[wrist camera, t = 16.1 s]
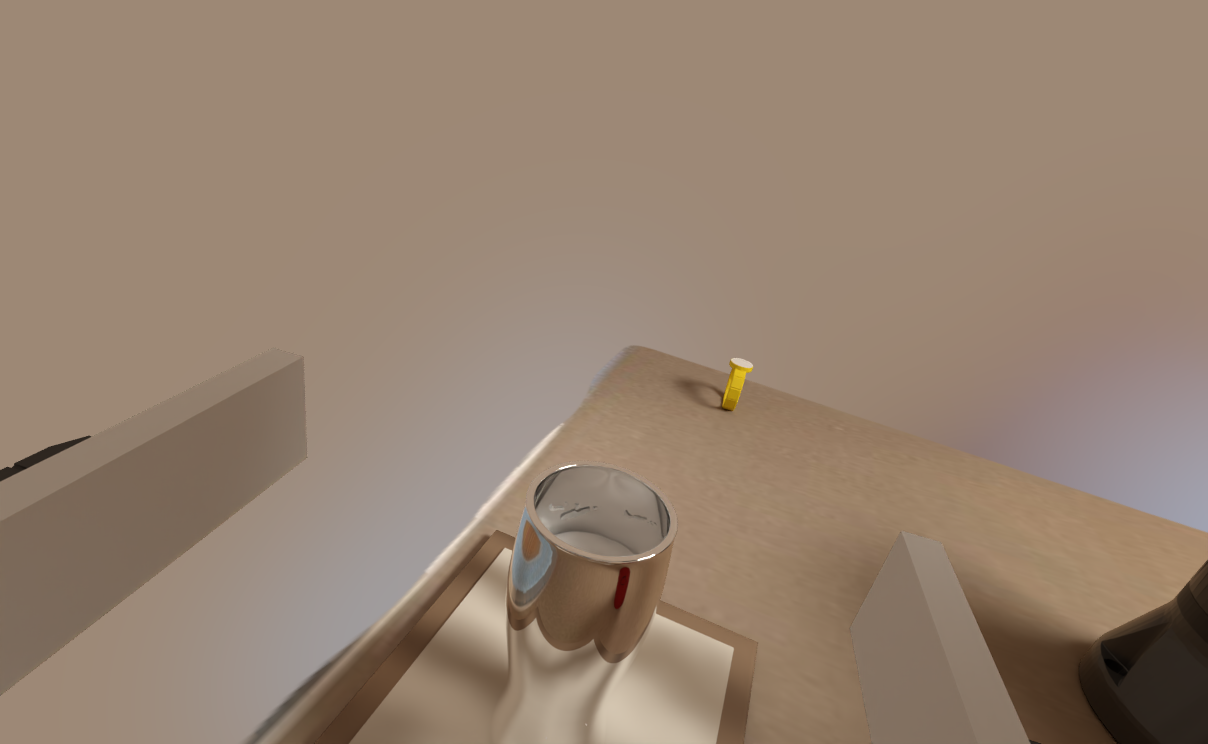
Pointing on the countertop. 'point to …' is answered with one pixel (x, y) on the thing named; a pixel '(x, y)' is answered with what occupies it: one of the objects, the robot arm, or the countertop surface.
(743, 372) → the watch
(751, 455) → the countertop surface
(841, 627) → the countertop surface
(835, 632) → the countertop surface
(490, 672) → the picture frame
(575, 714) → the beer glass
